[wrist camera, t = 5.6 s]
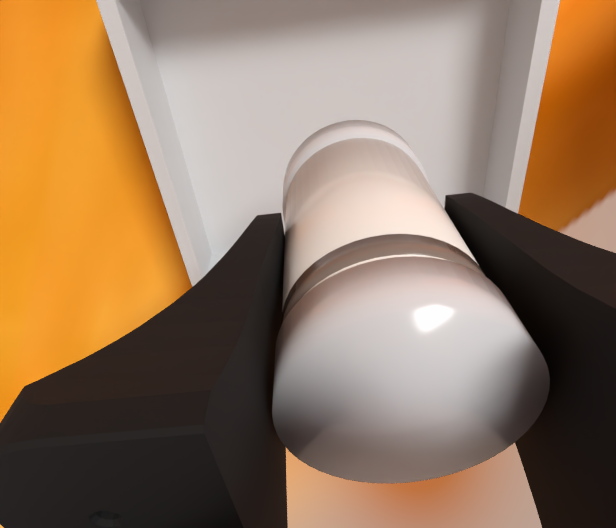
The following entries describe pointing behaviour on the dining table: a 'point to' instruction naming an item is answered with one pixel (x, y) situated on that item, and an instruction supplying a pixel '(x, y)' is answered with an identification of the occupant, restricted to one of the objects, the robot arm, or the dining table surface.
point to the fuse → (390, 322)
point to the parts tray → (324, 95)
